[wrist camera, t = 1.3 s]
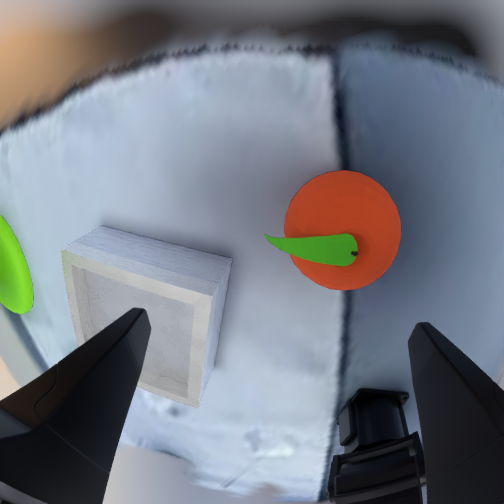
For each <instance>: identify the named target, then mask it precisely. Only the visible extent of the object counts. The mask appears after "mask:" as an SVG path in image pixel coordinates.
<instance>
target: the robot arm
mask: <svg viewBox="0 0 504 504" xmlns="http://www.w3.org/2000/svg"><path fill="white" fill-rule="evenodd" d="M150 334H151V325H150V321H149V318H148V314H147V311H146V310H145V309H144V308H138V307H133V308H132V309H130V310H129V311H127V312H126V313H125V314H123V315H122V316H120V317H119V318H118V319H116V320H115V321H114V322H112V323H111V324H109V325H108V326H107V327H105V328H104V329H102V330H101V331H100V332H98V333H97V334H96V335H94V336H93V337H92V338H90V339H89V340H87V341H86V342H85V343H83V344H82V345H81V346H79V347H78V348H77V349H75V350H74V351H73V352H71V353H70V354H69V355H67V356H66V357H65V358H63V359H62V360H61V361H59V362H58V364H55V365H54V366H53V367H51V368H50V369H49V370H47V371H46V372H44V373H43V374H42V375H40V376H39V377H37V378H36V379H34V380H33V381H31V382H30V383H28V384H27V385H25V386H24V387H22V388H20V389H19V390H17V391H16V392H14V393H12V394H11V395H9V396H7V397H6V398H4V399H2V400H1V401H0V504H102V503H103V499H104V494H105V491H106V486H107V482H108V479H109V475H110V474H109V473H110V471H111V467H112V463H113V460H114V456H115V453H116V449H117V446H118V443H119V439H120V436H121V433H122V429H123V426H124V423H125V420H126V417H127V413H128V410H129V407H130V404H131V401H132V398H133V395H134V392H135V389H136V386H137V383H138V381H139V378H140V375H141V371H142V368H143V363H144V359H145V355H146V350H147V346H148V342H149V338H150ZM408 349H409V356H410V364H411V373H412V381H413V387H414V392H415V397H416V403H417V408H418V414H419V420H420V427H421V434H422V441H423V449H424V454H423V450H422V446H421V442H420V438H419V435H418V431H416V432H414V433H412V434H410V435H409V432H408V427H407V423H406V419H405V415H404V411H403V407H402V406H403V405H404V404H405V402H406V401H407V400H408V399H409V394H408V393H403V392H389V391H378V390H369V389H360V390H358V391H357V393H356V394H355V396H354V397H353V398H352V400H351V401H350V403H349V404H347V406H346V407H345V408H344V410H343V411H342V413H341V414H340V415H339V418H338V419H337V425H339V432H340V445H341V446H344V453H345V454H342V455H339V454H338V455H334V456H333V462H331V469H330V476H329V482H328V487H327V490H326V493H325V495H326V497H327V498H329V499H330V503H331V504H423V499H422V490H421V488H422V487H425V486H426V487H427V504H504V391H503V390H502V389H501V388H500V387H499V386H498V385H497V384H496V383H495V382H494V381H493V380H492V379H491V378H490V377H489V376H488V375H487V374H486V373H485V372H484V371H483V370H481V369H480V368H479V367H478V366H477V365H476V364H475V363H474V362H473V361H472V360H471V359H470V358H469V357H467V356H466V355H465V354H464V353H463V352H462V351H461V350H460V349H459V348H457V347H456V346H455V345H454V344H453V343H452V342H451V341H450V340H448V339H447V338H446V337H445V336H444V335H443V334H442V333H440V332H439V331H438V330H437V329H436V328H435V327H433V326H432V325H431V324H430V323H428V322H419V323H417V324H416V326H415V328H414V330H413V332H412V334H411V336H410V338H409V340H408ZM412 455H413V456H412Z"/></svg>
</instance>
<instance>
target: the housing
mask: <svg viewBox="0 0 504 504" xmlns="http://www.w3.org/2000/svg"><path fill="white" fill-rule="evenodd" d="M61 253H62V262H63V270H64V277H65V284H66V290H67V296H68V301H69V307H70V312H71V316H72V321H73V325H74V330H75V334H76V338H77V342H78V346H81V345H82V344H83V343H85V342H86V341H87V340H89V339H90V338H92V337H93V336H94V335H96V334H97V333H98V332H100V331H101V330H102V329H104V328H105V327H107V326H108V325H109V324H111V323H112V322H114V321H115V320H116V319H118V318H119V317H120V316H122V315H123V314H125V313H126V312H127V311H129V310H130V309H132V308H133V307H138V308H144V309H145V310H146V311H147V314H148V318H149V321H150V325H151V334H150V338H149V342H148V346H147V350H146V355H145V359H144V363H143V368H142V371H141V375H140V378H139V381H138V383H137V387H139V388H142V389H144V390H147V391H149V392H152V393H154V394H157V395H160V396H163V397H165V398H168V399H171V400H174V401H177V402H180V403H183V404H186V405H189V406H192V407H195V408H199V405H200V402H201V400H202V397H203V394H204V392H205V389H206V386H207V384H208V381H209V379H210V376H211V373H212V371H213V368H214V364H215V358H216V351H217V345H218V339H219V333H220V327H221V321H222V315H223V310H224V304H225V298H226V292H227V286H228V281H229V275H230V269H231V264H232V259H231V258H227V257H223V256H219V255H215V254H211V253H207V252H203V251H199V250H195V249H191V248H187V247H183V246H179V245H175V244H171V243H167V242H163V241H159V240H155V239H151V238H147V237H144V236H140V235H136V234H132V233H128V232H124V231H120V230H116V229H113V228H109V227H105V226H101V227H99V228H97V229H95V230H93V231H91V232H90V233H88V234H86V235H84V236H82V237H81V238H79V239H77V240H75V241H74V242H72V243H70V244H68V245H67V246H65V247H63V248H62V249H61Z"/></svg>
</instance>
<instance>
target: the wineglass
mask: <svg viewBox="0 0 504 504" xmlns="http://www.w3.org/2000/svg"><path fill="white" fill-rule="evenodd" d="M33 299H34V296H33V285H32V280H31V276H30V271H29V268H28V265H27V262H26V259H25V256H24V254H23V252H22V249H21V247H20V245H19V242H18V240H17V238H16V236H15V235H14V233H13V231H12V229H11V227H10V226H9V225H8V223H7V222H6V221H5V219H4V218H3V217H2V216H1V215H0V302H1V303H2V304H3V305H4V306H5V307H6V308H8V309H9V310H11V311H12V312H14V313H18V314H24V313H27V312H29V311H30V309H31V308H32V306H33Z"/></svg>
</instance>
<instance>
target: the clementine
mask: <svg viewBox="0 0 504 504" xmlns="http://www.w3.org/2000/svg"><path fill="white" fill-rule="evenodd" d="M284 232H285V238H275V237H270V236H268V235H266V234H264V235H265V236H266V238H267V239H268V240H269V242H270V243H272V244H273V245H274V246H276V247H277V248H279V249H280V250H283V251H285V252H287V253H289V254H290V256H291V258H292V260H293V262H294V264H295V265H296V266H297V267H298V268H299V270H300V271H301V272H302V273H303V274H304V275H305V276H307V277H308V278H310V279H311V280H312V281H314V282H315V283H317V284H319V285H322V286H324V287H327V288H329V289H335V290H352V289H358V288H361V287H364V286H366V285H369V284H371V283H372V282H374V281H375V280H377V279H378V278H380V277H381V276H382V275H383V274H384V273H385V272H386V271H387V270H388V269H389V267H390V266H391V264H392V263H393V261H394V259H395V257H396V255H397V252H398V249H399V245H400V240H401V219H400V216H399V212H398V209H397V206H396V205H395V203H394V201H393V200H392V198H391V197H390V195H389V194H388V192H387V191H386V190H385V189H384V188H383V187H382V186H381V185H380V184H379V183H378V182H377V181H375V180H374V179H372V178H370V177H368V176H366V175H364V174H362V173H358V172H353V171H347V170H342V171H333V172H327V173H325V174H322V175H320V176H317V177H315V178H313V179H312V180H310V181H309V182H308V183H307V184H305V185H304V186H303V187H301V189H300V190H299V191H298V193H297V194H296V195H295V196H294V198H293V199H292V201H291V203H290V206H289V208H288V211H287V213H286V218H285V226H284Z"/></svg>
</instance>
